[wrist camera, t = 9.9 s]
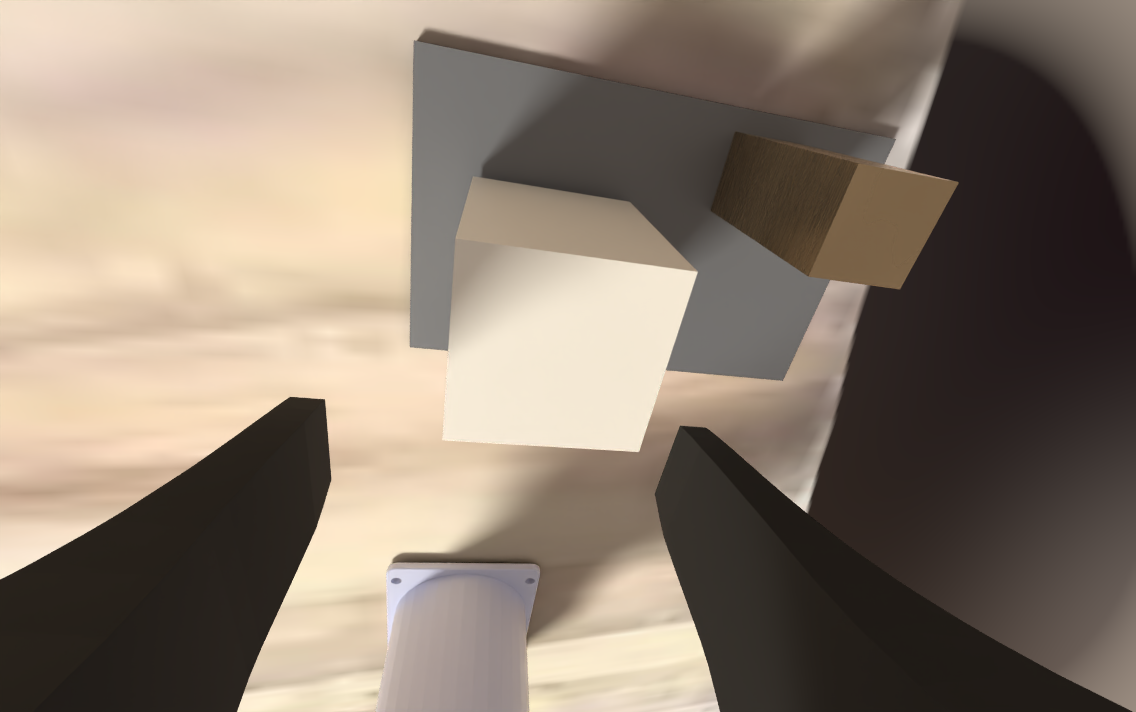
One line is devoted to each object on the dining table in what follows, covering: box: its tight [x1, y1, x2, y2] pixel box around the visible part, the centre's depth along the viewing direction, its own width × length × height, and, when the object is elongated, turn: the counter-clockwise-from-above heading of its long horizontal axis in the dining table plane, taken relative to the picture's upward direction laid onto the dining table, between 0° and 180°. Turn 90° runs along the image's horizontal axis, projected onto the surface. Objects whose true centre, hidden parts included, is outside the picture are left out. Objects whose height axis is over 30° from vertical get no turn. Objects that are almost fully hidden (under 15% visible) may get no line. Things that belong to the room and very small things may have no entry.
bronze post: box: [710, 131, 958, 289], centre depth 14 cm, size 3×3×6 cm
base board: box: [410, 41, 896, 381], centre depth 18 cm, size 10×16×1 cm, turn 80°
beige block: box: [442, 176, 698, 452], centre depth 14 cm, size 5×5×7 cm
